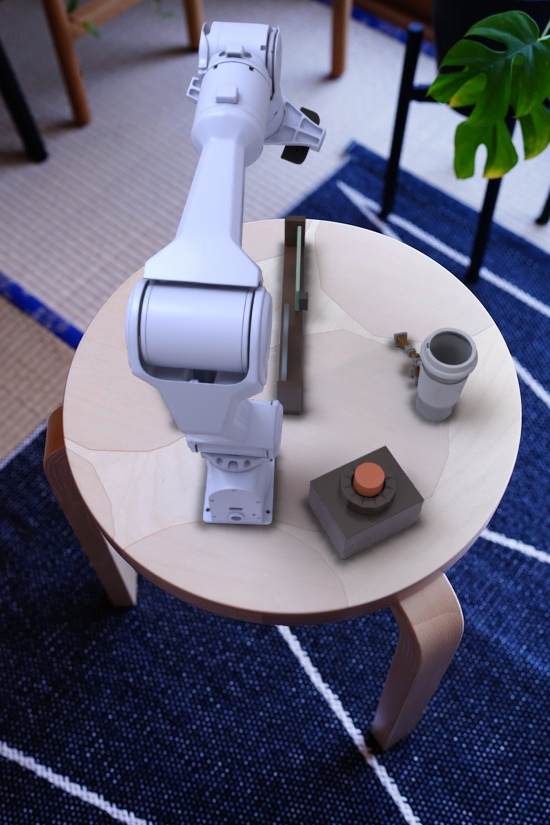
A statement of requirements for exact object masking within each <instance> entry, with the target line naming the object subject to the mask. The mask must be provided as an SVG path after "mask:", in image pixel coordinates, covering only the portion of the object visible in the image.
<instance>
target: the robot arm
mask: <svg viewBox="0 0 550 825" xmlns="http://www.w3.org/2000/svg"><path fill="white" fill-rule="evenodd" d="M282 61H283V42H282V35H281V30H280V26H279V25H277V27H272V26H271V24H269V23H255V22H254V23H253V22H252V23H251V22H233V21H232V22H231V21H213V22H212V23H211V26H209V24H208V22H206V21H205V22H203V24H202V27H201V31H200V37H199V45H198V66H197V70H198V71H197V75H198V76H197V77H196V76H192V78H191V81H190V83H189V85H188V88H187V92H186V94H185V96H186V98H187V101H189V102H190V103H192V104H195V105H196V107H195V112H194V117H193V121H192V126H191V131H190V140H191V143H192V147H193V149H194V151H195V153H196V154H197V156H199V160H198V164H197V166H196V170H195V173H194V176H193V179H192V183H191V186H190V189H189V192H188V195H187V199H186V202H185V205H184V208H183V211H182V214H181V218H180V221H179V223H178V227H177V230H176V233H175V236H174V239H173V240H172V241H171V242H170V243H168V244H167V245H166V246H163V248H162V249H160V250H159V251H158V252H156V253H155V254H153V255H152V256H151V257H150V258H148V259H147V260H146V261H145V264H144V266H143V273H142V278H141V279H140V280H138V282H137V283H136V284H135V285H134V286H133V287H132V289H131V291H130V293H129V296H128V300H127V303H126V309H125V319H124V338H125V346H126V351H127V358H128V359H127V360H128V366H129V369H131V374H132V375H133V376H134V377H136V378H138V379H139V380H141V381H143V382H145V383H146V384H147V385H149V386H151V387H153V388H155V389H156V390H157V391H158V392H159V394H160V396H161V397H162V399H163V401H164V403H165V405H166V408H167V409H168V411H169V413H170V415H171V417H172V419H173V420H174V423H175V424H176V426H177V428H178V430H179V431H180V433H182V434H183V435H184V437H185V441H186V446H187V447H188V449H190V452H191V453H196V454H198V453H199V454H200V458H201V459H204V460H205V461H206V467H207V474H206V483H205V484H206V485H205V494H204V503H203V512H202V513H203V515H202V519H203V520H202V521H203V522H204V523H206V524H229V525H230V524H231V525H232V524H234V525H260V526H263V525H264V526H269V525H271V524H272V522H273V510H274V485H275V467H276V466H275V464H276V457H277V456H279V455H280V451H281V445H282V444H281V443H282V434H283V423H284V422H283V421H284V415H283V406H282V405H281V404H280V403H279V400H277V399H273V400H261V399H249V398H252V397H254V396H257V395H259V394H261V393H263V392H264V388H265V386H266V385H267V383H268V382H267V381H268V373H269V372H268V371H269V359H270V353H271V344H272V331H273V315H274V314H273V312H274V310H273V308H274V303H273V302H274V301H273V296H272V295H271V293H270V292H269V291H268V290H267V288H266V287H265V286H264V276H263V271H262V269H261V267H260V266H259V265H258V263H256V261H255V260H253V258H251V257H250V256H249V255H248V254H247V253H246V252H245V251H244V249H243V231H244V230H243V229H244V210H245V208H244V207H245V187H246V186H245V185H246V168H248V167H250V166H251V165H253V164H254V163H256V162H257V160H259V159H260V157H261V156H262V153H263V151H264V147H265V146H283V150H282V152H281V154H280V159H281V160H284V161H286V162H288V163H292V164H294V165H301V166H302V164H304V162H305V161H306V159H307V156H308V154H309V152H310V150H311V151H313V152H316V153H320V151H321V149H322V146H323V143H324V141H325V138H326V136H327V129H326V128H325V127H323V126H321V125H320V123H321V118H320V115H319V114H318V113H317V112H316V111H314V110H311V109H309V108H307V107H306V108H305V107H304V106H301V107H300V108H298V107H297V106H296V105H294V103H293V102H291V100H289V99H288V98H287V97H286V96H285V95H284V94H283V93H282V90H281V77H282V76H281V75H282ZM208 510H209V511H208ZM267 512H269V513H267Z"/></svg>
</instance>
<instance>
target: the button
mask: <svg viewBox="0 0 550 825" xmlns="http://www.w3.org/2000/svg"><path fill="white" fill-rule="evenodd" d="M384 478H385V475H384V471H383V470H382V468H381V467H380V466H379V465H377V464H375V463H370V462H368V463H363V464H361V465H360V466H358V467H357V469H356V471H355V475H354V482H353V485H354V488H355V490H356V491H357V492H358V493H359V494H360V495H362V496H365V497H373V496H375V495H377V494H379V493H380V491H381V490H382V487H383V483H384Z"/></svg>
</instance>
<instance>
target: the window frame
mask: <svg viewBox="0 0 550 825" xmlns="http://www.w3.org/2000/svg"><path fill="white" fill-rule="evenodd" d="M306 224H307V217H306V215H284V228H283V229H284V231H283V233H284V234H283V237H284V241H283V242H284V243H283V246H284V247H283V248H284V249H283V265H282V266H283V268H282V269H283V270H282V290H281V308H280V309H281V312H280V313H281V314H280V331H279V332H280V333H279V334H280V335H279V355H278V356H279V357H278V378H277V380H276V400H279V403H280V404H281V405H282V406H283V416H284V415H286V416H287V415H288V416H301V414H302V390H303V388H302V386H303V382H302V380H303V378H302V371H303V369H302V367H303V338H304V337H303V335H304V334H303V333H304V332H303V331H304V310H299V311H295V299H296V267H297V236H298V226H301V255H300V290H299V293H300V292H305V290H304V289H305V260H306V259H305V256H306V253H305V252H306V226H307V225H306Z"/></svg>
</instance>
